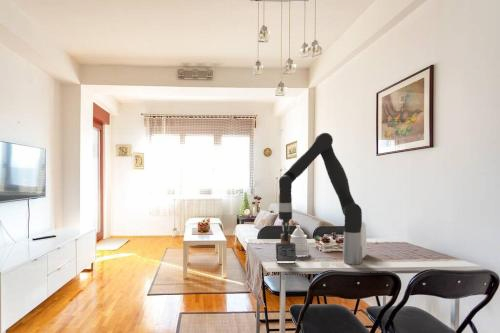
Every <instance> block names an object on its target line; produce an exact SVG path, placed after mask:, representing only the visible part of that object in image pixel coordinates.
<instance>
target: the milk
mask: <svg viewBox="0 0 500 333" xmlns="http://www.w3.org/2000/svg"><path fill="white" fill-rule="evenodd" d="M366 227H367V225H366V223H365V221H363V220H362V227H361V246H362V259H364V258H365V257H366V256H368V247H367V246H368V244H367V228H366ZM342 242H343V244H342V246H343V247H342V257H344V239H343V241H342Z"/></svg>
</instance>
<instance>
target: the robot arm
mask: <svg viewBox="0 0 500 333" xmlns="http://www.w3.org/2000/svg"><path fill="white" fill-rule="evenodd" d="M333 140H334V139H333V136H332V135H331V134H330V133H328V132H321V133H319V134H318V135H317V136H316V138H315V139H314V142H313V143H312V145H311V146H309V148H308V149H307V151H306V152H305V153H303V154H302V155H301V156H300V157H299V158H298V159H296V161H295V162H294V163H293V164H292V165H291V166H290V167H289V169H287V171H285V172H284V173H283V174H282V176H280V178H279V180H278V188H279V189H278V190H279V196H278V200H279V201H278V220H280V221H281V220H282V222H281V228H282V231H283V232H282V234H284V241H288V234H290V233H289V232H290V222H288V221H290V220H292V219H293V204H292V203H293V202H292V200H293V199H292V198H293V197H292V188H293V187H292V185H293V182H295V180H296V179H298V178H299V177H300V176H301V174H303V173H304V172H305V170H307V169H308V168H309V166H310V165H311V164H312V163H313V162H314V160H315V159H317V158H318V157H319V155H320V157H321V158H322V160H323V164H324V167H325V170H326V173H327V177H328V178H329V180H330V181H329V182H330V183H331V185H332V187H333V189H334V192H335V194H336V195H337V197H338V201H339V204H340V207H341V211H342V214H343V216H344V226H343V240H344V256H343V262H344V263H345V264H347V265H348V264H349V265H359V264H361V265H362V264H363V258H362V246H361V227H362V221H363V212H362V211H363V210H362V208H361V206H360V205H359V204H358V203H356V202H355V200H354V198H353V196H352V194H351V191H350V185H349V180H348V177H347V174H346V171H345V169H344V167H343V165H342V164H341V161H339V159H338V158H337V156H336V154H335V151H334V148H333V145H332V144H333V142H334V141H333Z"/></svg>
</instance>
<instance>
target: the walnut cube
mask: <svg viewBox="0 0 500 333" xmlns="http://www.w3.org/2000/svg"><path fill="white" fill-rule="evenodd" d="M290 240H291V234H290V233H289V234H288V241H284V234H283V233H280V243H281V244H290Z"/></svg>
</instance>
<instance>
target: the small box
mask: <svg viewBox="0 0 500 333" xmlns="http://www.w3.org/2000/svg"><path fill="white" fill-rule="evenodd" d="M276 259H277V261H296V262H297V257H296V249H295V244H294V243H290V244H281V242H276V243H275V260H276Z"/></svg>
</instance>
